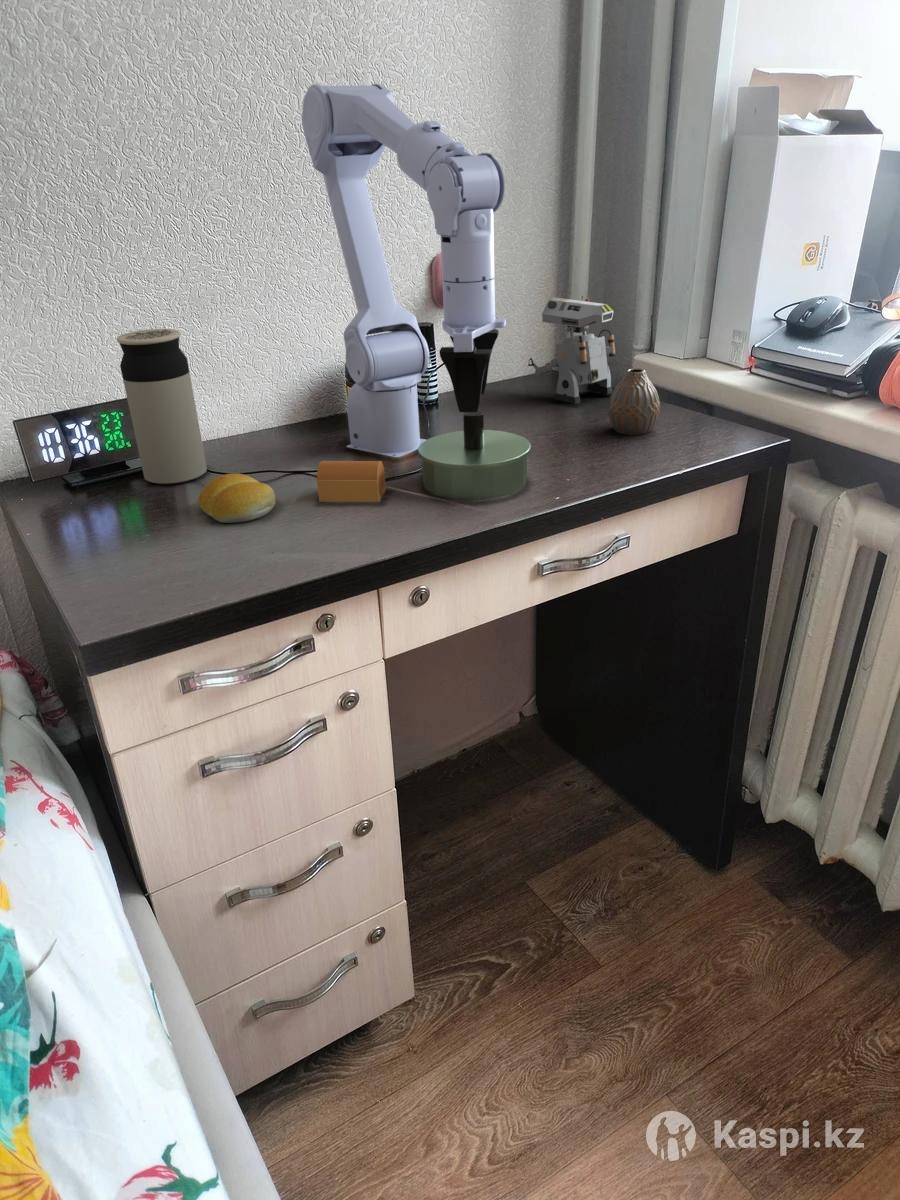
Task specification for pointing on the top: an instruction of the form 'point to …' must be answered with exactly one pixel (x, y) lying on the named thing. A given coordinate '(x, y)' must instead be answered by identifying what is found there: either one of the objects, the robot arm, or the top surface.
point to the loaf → (350, 481)
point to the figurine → (579, 348)
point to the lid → (474, 446)
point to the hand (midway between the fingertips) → (472, 402)
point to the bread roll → (236, 498)
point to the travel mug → (162, 406)
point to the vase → (634, 404)
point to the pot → (474, 480)
